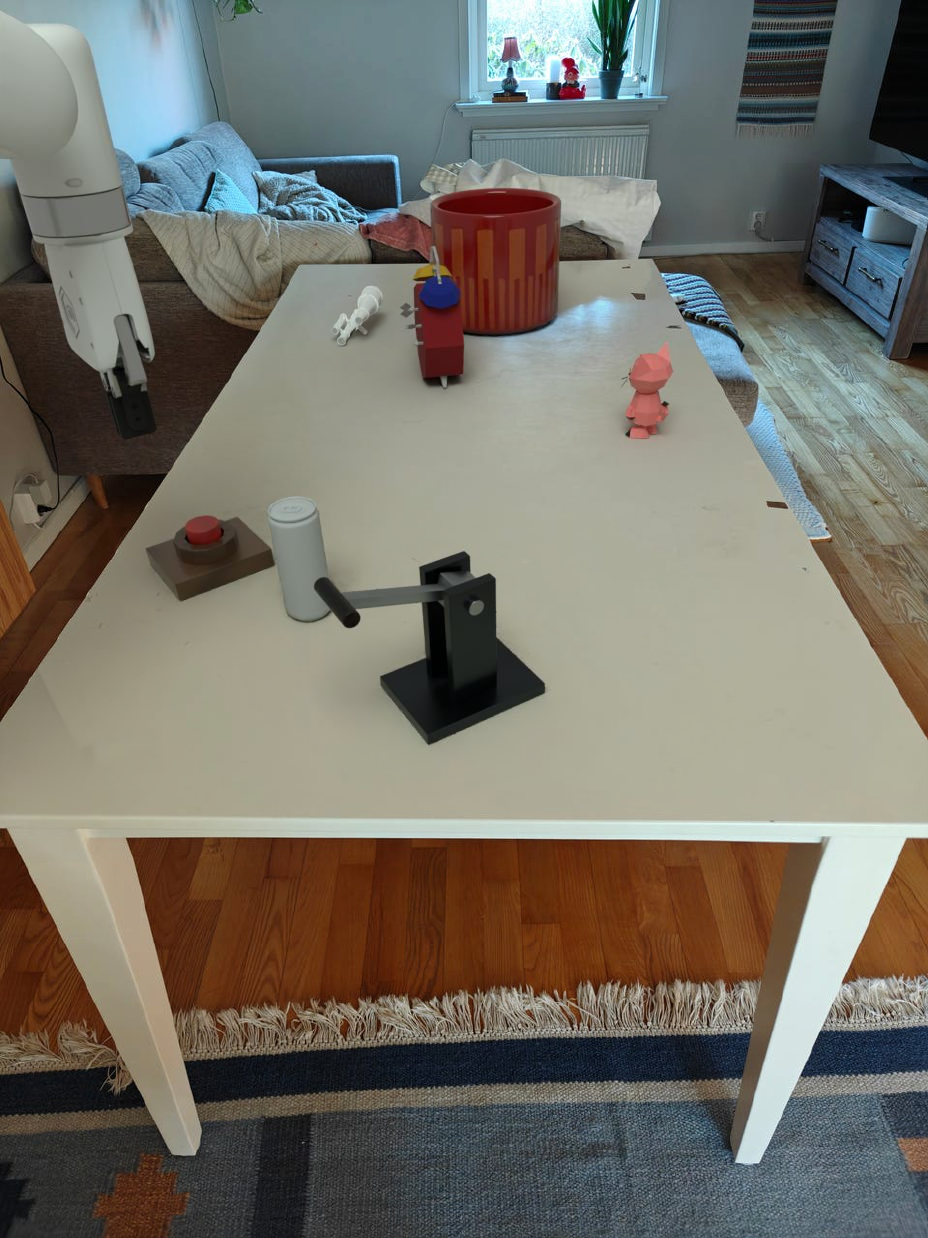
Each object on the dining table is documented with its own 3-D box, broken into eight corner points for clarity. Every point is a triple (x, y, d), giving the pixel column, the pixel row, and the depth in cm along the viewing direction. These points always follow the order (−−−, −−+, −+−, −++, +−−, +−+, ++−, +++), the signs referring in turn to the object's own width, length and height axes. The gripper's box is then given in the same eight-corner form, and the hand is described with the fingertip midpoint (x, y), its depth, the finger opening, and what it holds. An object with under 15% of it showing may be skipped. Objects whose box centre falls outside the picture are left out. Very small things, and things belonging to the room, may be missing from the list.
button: (195, 549, 91) (192, 535, 90) (183, 536, 93) (179, 522, 92) (227, 538, 92) (224, 524, 91) (214, 525, 95) (211, 511, 94)
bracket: (428, 745, 72) (418, 624, 64) (380, 685, 78) (366, 569, 70) (545, 693, 76) (549, 575, 69) (491, 640, 83) (489, 527, 75)
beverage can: (329, 623, 86) (313, 520, 78) (282, 624, 86) (261, 521, 79) (336, 595, 89) (321, 495, 82) (291, 596, 90) (271, 495, 82)
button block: (179, 601, 90) (170, 569, 87) (150, 564, 95) (141, 534, 93) (274, 565, 95) (268, 534, 92) (241, 532, 100) (234, 502, 98)
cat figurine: (640, 418, 123) (648, 335, 115) (680, 431, 118) (691, 346, 111) (609, 433, 119) (615, 348, 111) (650, 448, 115) (659, 361, 107)
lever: (340, 635, 63) (345, 607, 62) (311, 598, 67) (315, 571, 65) (486, 617, 70) (492, 592, 69) (452, 585, 74) (457, 561, 73)
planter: (421, 335, 154) (414, 214, 142) (451, 297, 172) (446, 186, 159) (547, 341, 149) (551, 216, 137) (564, 301, 167) (569, 187, 155)
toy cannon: (350, 355, 151) (327, 334, 150) (364, 329, 163) (342, 310, 161) (378, 323, 148) (354, 301, 146) (390, 299, 159) (368, 278, 157)
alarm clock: (467, 392, 132) (462, 256, 120) (411, 397, 131) (402, 261, 119) (453, 358, 144) (448, 232, 132) (402, 363, 143) (392, 236, 131)
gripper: (6, 207, 70) (71, 418, 81) (56, 238, 60) (123, 473, 71) (97, 195, 74) (149, 399, 84) (159, 222, 64) (208, 449, 75)
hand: (137, 432), depth 78 cm, fingers closed
